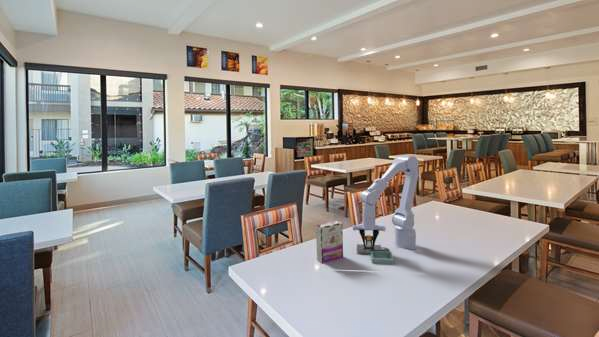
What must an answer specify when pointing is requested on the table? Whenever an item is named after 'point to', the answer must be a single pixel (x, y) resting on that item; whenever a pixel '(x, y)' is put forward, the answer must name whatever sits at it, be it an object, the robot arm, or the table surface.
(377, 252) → the tray
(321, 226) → the candy bar box
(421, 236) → the table surface
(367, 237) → the pin
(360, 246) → the plate
